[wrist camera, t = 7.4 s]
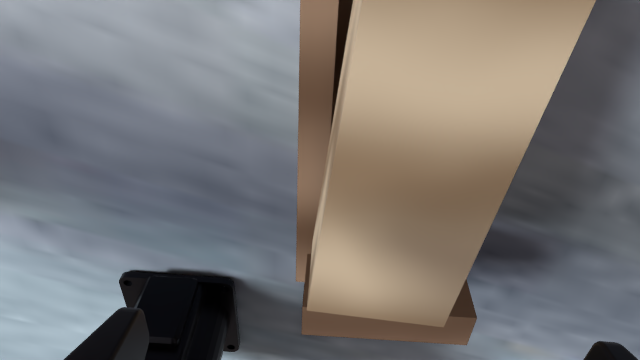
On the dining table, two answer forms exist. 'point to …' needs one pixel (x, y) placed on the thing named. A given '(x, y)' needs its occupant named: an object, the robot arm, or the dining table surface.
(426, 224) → the board
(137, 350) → the robot arm
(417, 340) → the frame
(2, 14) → the dining table surface
